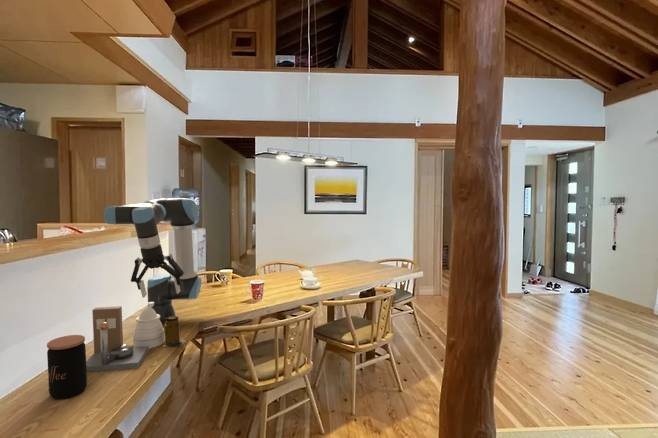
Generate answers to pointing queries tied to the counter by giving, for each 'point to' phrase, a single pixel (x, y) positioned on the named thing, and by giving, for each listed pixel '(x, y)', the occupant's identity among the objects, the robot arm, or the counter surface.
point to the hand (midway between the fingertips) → (161, 294)
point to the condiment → (172, 332)
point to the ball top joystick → (116, 352)
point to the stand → (112, 341)
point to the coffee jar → (67, 366)
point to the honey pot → (148, 329)
